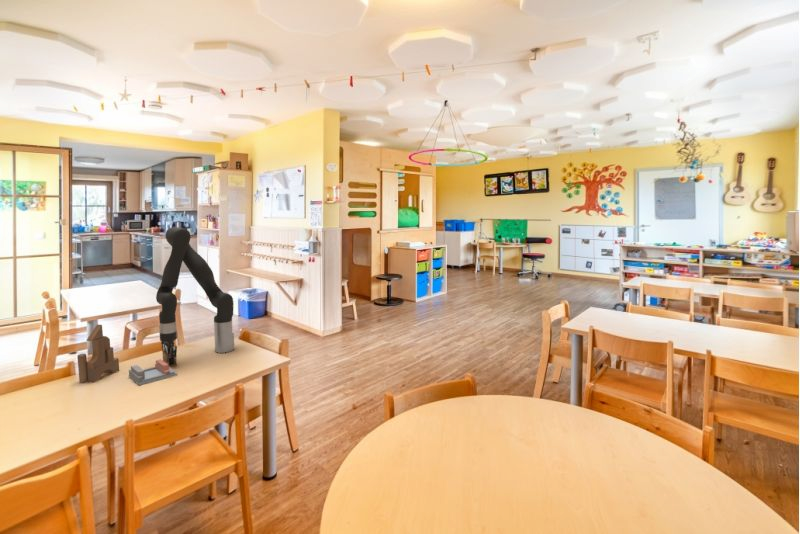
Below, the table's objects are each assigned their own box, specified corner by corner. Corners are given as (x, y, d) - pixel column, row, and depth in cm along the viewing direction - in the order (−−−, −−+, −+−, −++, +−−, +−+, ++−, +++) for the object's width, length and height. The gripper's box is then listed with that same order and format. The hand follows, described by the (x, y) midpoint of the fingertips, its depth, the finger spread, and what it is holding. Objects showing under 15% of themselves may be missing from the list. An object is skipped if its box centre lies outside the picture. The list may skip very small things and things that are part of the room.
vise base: (166, 367, 197) (165, 356, 196) (177, 375, 188) (176, 364, 188) (128, 376, 185) (128, 365, 184) (139, 385, 176) (138, 373, 175)
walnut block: (172, 362, 204) (172, 350, 203) (176, 364, 200) (176, 352, 200) (163, 364, 200) (162, 352, 199) (167, 367, 197) (166, 354, 196)
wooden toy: (107, 369, 193) (103, 319, 189) (119, 370, 192) (116, 320, 188) (77, 382, 177) (73, 329, 174) (90, 384, 176) (86, 329, 173)
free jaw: (159, 366, 195) (159, 358, 194) (170, 374, 186) (169, 365, 186) (155, 367, 193) (154, 359, 192) (165, 375, 185) (165, 366, 184)
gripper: (181, 332, 196) (183, 364, 199) (170, 326, 205) (172, 357, 208) (165, 335, 191) (167, 369, 193) (154, 329, 200) (156, 361, 202)
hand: (169, 363), depth 200 cm, fingers closed on walnut block, 5 cm apart
